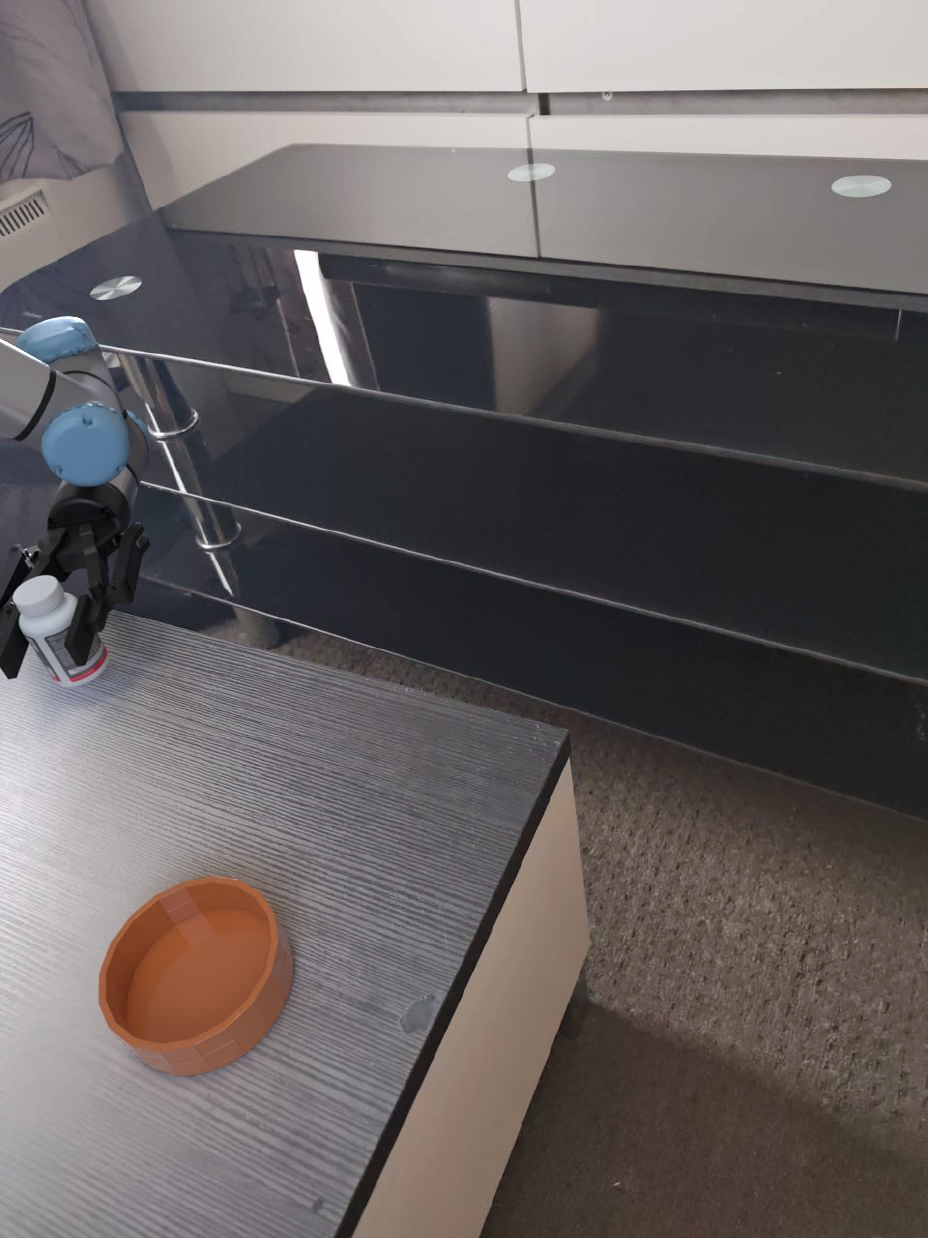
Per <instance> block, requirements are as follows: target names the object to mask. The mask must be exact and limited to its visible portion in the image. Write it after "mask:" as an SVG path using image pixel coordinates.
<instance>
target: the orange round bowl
mask: <svg viewBox="0 0 928 1238" xmlns="http://www.w3.org/2000/svg"><path fill="white" fill-rule="evenodd" d="M294 971H295V965H294V954H293V949H292V945H291V943H290V939H289V936H288V935H287V932H286V931H285V929H284V927H283V926H282V924H281V922H280V920H279V919H278V917H277V915H276V912H274V910H273V909H272V906H271V905H270V904H269V902H268V901H267V899H266V898H265V896H264V895H263V893H262V892H261V891H259V890H258V889H256V888H254V887H253V886H251V885H249V884H248V883H246V882H244V881H242V880H241V879H236V878H229V877H223V876H216V875H212V876H205V877H200V878H194V879H188V880H185V881H181V882H179V883H177V884H176V885H173V886H171V887H169V888H167V889H165V890H163V891H161V892H159V893H157V894H155V895H154V896H153V897H152V898H150V899H149V900H147V902H146V903H144V904H143V905H142V906H141V907H140V908H138V909H137V910H136V911H135V912H133V913H132V914H131V915H130V916H129V917H128V919H127V920H126V921H125V923H124V924H123V925H122V927H121V928H120V930H119V931H117V933H116V935H115V936H114V937H113V939H112V940H111V941H110V944H109V946H108V948H107V951H106V954H105V956H104V959H103V962H102V965H101V967H100V969H99V973H98V1002H97V1003H98V1006H99V1008H100V1010H101V1013H102V1015H103V1017H104V1020H105V1022H106V1024H107V1027H108V1029H109V1030H110V1031H111V1033H113V1034H114V1036H116V1037H117V1039H118V1040H119V1041H120V1042H121V1043H122V1044H123V1045H124V1046H125V1047H126V1048H127V1049H128V1050H129V1051H130V1052H131V1053H132V1054H134V1055H135V1056H136V1057H137V1058H138V1059H139V1060H140V1061H142V1062H143V1063H144V1064H145V1065H147V1066H148V1067H150V1068H152V1069H153V1070H155V1071H158V1072H160V1073H163V1074H168V1075H172V1076H184V1077H186V1076H187V1077H188V1076H197V1075H202V1074H206V1073H211V1072H214V1071H216V1070H218V1069H219V1070H220V1069H222V1068H224V1067H226V1066H228V1065H230V1064H232V1063H234V1062H235V1061H237V1060H239V1059H240V1058H241V1057H243V1056H244V1055H246V1054H248V1052H250V1051H251V1050H252V1049H254V1047H256V1046H257V1045H258V1044H259V1043H260V1042H261V1041H262V1040H263V1039H264V1038H265V1037H266V1036H267V1034H268V1033H269V1032H270V1030H271V1029H273V1027H274V1025H275V1024H276V1022H277V1021H278V1019H279V1018H280V1016H281V1014H282V1012H283V1010H284V1009H285V1006H286V1004H287V1002H288V1000H289V995H290V993H291V989H292V985H293V981H294Z"/></svg>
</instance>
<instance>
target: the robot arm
mask: <svg viewBox="0 0 928 1238" xmlns="http://www.w3.org/2000/svg"><path fill="white" fill-rule="evenodd" d="M100 348H101V346H100V344H99V343H98V342H97V341H96V339H95V337H94V335H93V333H92V330H91V329H90V326H89V325H88V324H87V322H86V321H84V320H83V319H82V318H78V317H75V316H74V317H73V316H60V317H54V318H50V319H46V320H44V321H41V322H39V323H38V322H37V323H36V324H33V325H32V326H30V327H28V328H26V329H25V330H24V331H23V332H21V333H20V334H19V336H18V337H17V339H16V343H15V346H14V345H12V344H10V343H8V342H6V341H4V340H2V339H1V338H0V434H2V435H4V436H6V437H7V438H10V439H12V440H14V441H16V442H18V443H21V444H22V445H24V446H26V447H27V448H30V449H32V450H33V451H36V452H38V453H40V454H41V455H42V456H43V459H44V461H45V462H46V464H47V465H48V467H49V469H50V470H51V471H52V472H53V473H54V474H55V475H56V476H57V477H58V478H59V479H60V480H61V482H60V484H59V487H58V489H57V491H56V495H55V497H54V499H53V501H52V505H51V507H50V509H49V512H48V515H47V522H46V523H47V524H46V531H45V533H44V534H43V535H42V536H41V537H40V538H39V539H38V541H37V544H35V545H32V546H29V547H27V548H22V546H21V544H18V543H16V544H13V545H10V547H9V548H8V550H7V552H8V561H7V562H6V564H5V566H4V568H3V571H2V572H1V575H0V670H1V672H2V673H3V674H4V676H5V677H6V679H7V680H14V679H17V678H18V676H19V673H20V670H21V667H22V665H23V662H24V660H25V657H26V654H27V652H28V649H29V646H30V643H29V641H28V640H27V638H26V637H25V635H24V634H23V633H22V631H21V629H20V626H19V618H20V615H21V613H20V612H19V610H18V608H17V606H16V605H15V603H14V601H13V594H14V592H15V591H16V589H17V588H18V587H19V586H20V585H22V584H23V583H24V582H26V581H28V580H30V579H32V578H35V577H38V576H43V575H48V576H53V577H55V578H56V579H57V580H58V582H59V583H61V584H62V583H63V584H64V583H65V582H66V581H67V580H68V579H69V577H70V576H71V574H72V573H73V572H74V571H77V570H86V574H87V576H86V577H87V582H88V583H87V584H88V585H87V584H86V588H87V590H88V592H89V593H90V595H91V597H90V595H89V594H88V593H87V594H86V593H85V594H81V595H79V596H78V598H77V599H78V603H77V606H76V609H75V612H74V615H73V618H72V621H71V624H70V627H69V630H68V633H67V636H66V639H65V642H64V646H65V648H66V649H67V651H68V652H69V654H70V656H71V657H72V659H73V661H74V662H75V664H76V666H77V667H80V666H85V665H86V663H87V660H88V656H89V653H90V650H91V646H92V643H93V639H94V636H95V633H97V634H98V633H99V634H100V633H102V632H103V631H104V629H105V628H106V624H107V621H108V617H109V613H111V612H112V611H113V609H114V606H116V605H121V606H123V607H124V606H125V607H126V606H129V605H130V604H132V603H133V602H134V600H135V595H136V592H137V585H138V580H139V575H140V571H141V567H142V566H141V565H142V561H143V557H144V554H145V553H146V552H147V551H148V550H149V548H150V546H151V545H152V542H151V540H150V538H149V536H148V534H147V531H146V530H145V528H144V526H143V524H142V522H140V521H139V522H138V521H137V522H134V523H132V524H130V521H131V517H132V514H133V510H134V507H135V504H136V501H137V497H138V494H139V488H140V485H141V482H142V480H143V476H144V474H145V471H146V469H147V468H148V465H149V460H150V453H151V444H152V443H151V442H152V441H151V434H150V431H149V428H148V427H147V426H146V423H144V422H143V420H141V419H140V418H139V417H138V416H137V415H136V414H134V413H133V412H131V411H130V410H128V409H127V408H126V406H125V405H124V403H123V401H122V399H121V396H120V393H119V391H118V389H117V386H116V384H115V381H114V379H113V377H112V374H111V372H110V370H109V367H108V365H107V362H106V360H105V358H104V356H103V354H102V353H103V352H102V351H101V349H100ZM116 551H117V553H116V558H115V562H114V566H113V569H112V570H113V571H112V575H111V578H110V577H109V573H110V567H109V562H108V561H109V557H110V556H111V555H112V554H114V553H115V552H116Z"/></svg>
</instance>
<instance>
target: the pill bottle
mask: <svg viewBox="0 0 928 1238" xmlns="http://www.w3.org/2000/svg"><path fill="white" fill-rule="evenodd" d="M78 599H79V598H77V597H76V596H75V595H73V594H71V593H70V592H65V590H64V587H63V586H62V585H61V584H60V583H59V582H58V580H57V579H56V578H55V577H53V576H48V575H43V576H38V577H35V578H32V579H30V580H28V581H26V582H24V583H23V584H22V585H20V586H19V587H18V588H17V589H16V591H15V592H14V594H13V601H14V603H15V605H16V606H17V608H18V610H19V612H20V613H21V615H20V618H19V626H20V629H21V631H22V633H23V634H24V635H25V637H26V638H27V640H28V641H29V643H30V644H29V646H31V648H32V650H33V651H34V653H35V654H36V655H37V657H38V658H39V660H40V661H41V664H42V665H43V666H44V667H45V670H46V671H47V672H48V674H49V676H50V677H51V678H52V679H53V681H54V682H55V683H56V684H57V685H59V686H61V687H64V688H65V687H68V688H71V687H78V686H82V685H85V684H87V683H89V682H91V681H93V680H95V679H96V678H98V677H99V676H100V675H101V674H102V673H103V672H104V671H105V670H106V668H107V666H108V664H109V661H110V654H109V651H108V650H107V649H108V648H106V646H105V644H104V642H103V640H102V638H101V637H100V635H99V634H98V633H95V636H94V639H93V643H92V646H91V650H90V653H89V656H88V660H87V663H86V665H85V666H80V667H77V666H76V664H75V662H74V661H73V659H72V657H71V656H70V654H69V652H68V651H67V649H66V648H65V646H64V642H65V639H66V636H67V633H68V630H69V627H70V624H71V621H72V618H73V615H74V612H75V609H76V606H77V603H78Z"/></svg>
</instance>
